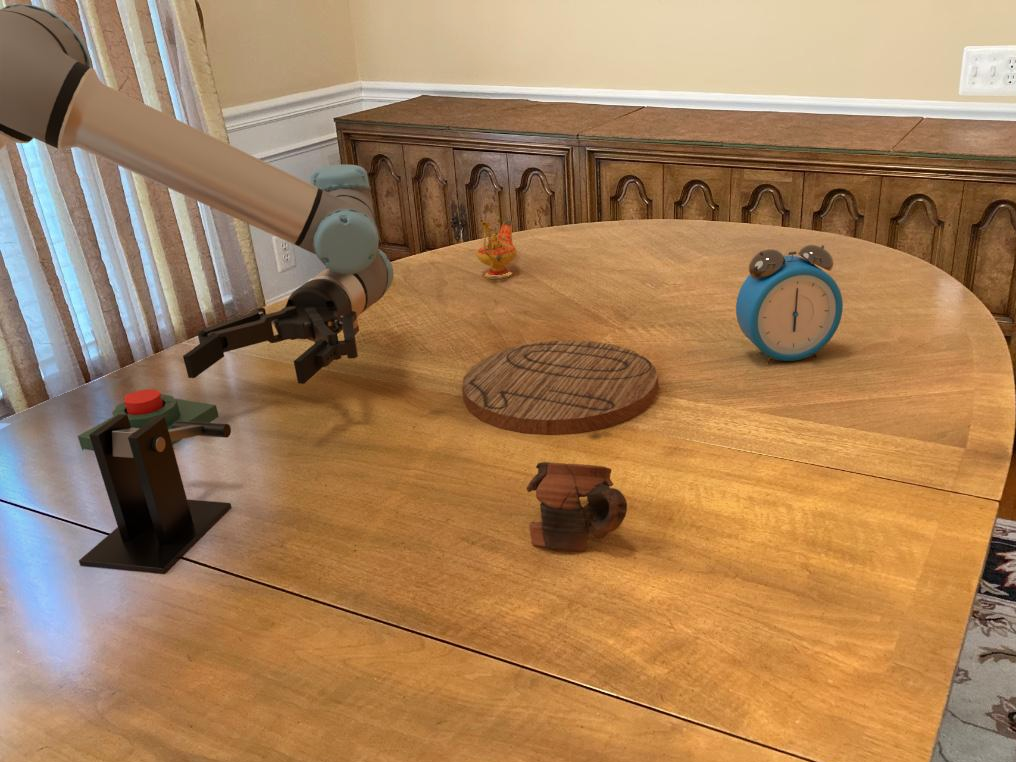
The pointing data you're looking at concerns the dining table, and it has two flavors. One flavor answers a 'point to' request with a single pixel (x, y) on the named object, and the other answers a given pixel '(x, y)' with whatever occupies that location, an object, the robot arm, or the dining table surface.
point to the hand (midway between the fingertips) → (242, 370)
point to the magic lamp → (497, 249)
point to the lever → (176, 433)
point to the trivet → (560, 387)
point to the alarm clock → (789, 303)
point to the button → (143, 402)
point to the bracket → (147, 502)
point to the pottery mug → (574, 505)
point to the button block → (170, 411)
